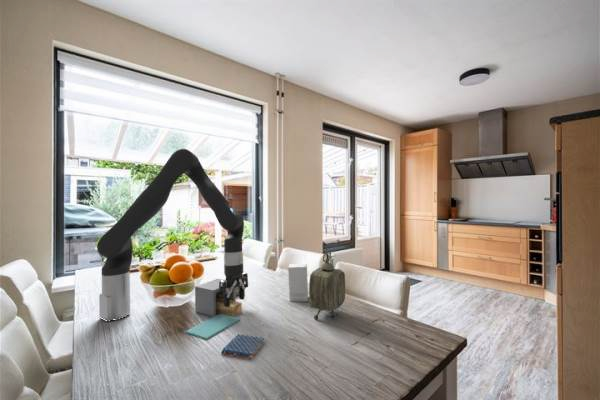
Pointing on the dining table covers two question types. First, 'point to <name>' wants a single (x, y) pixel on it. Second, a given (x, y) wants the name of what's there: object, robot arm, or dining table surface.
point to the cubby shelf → (209, 297)
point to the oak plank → (231, 310)
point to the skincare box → (298, 282)
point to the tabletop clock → (326, 288)
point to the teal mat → (212, 326)
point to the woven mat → (243, 346)
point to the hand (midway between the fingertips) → (234, 302)
